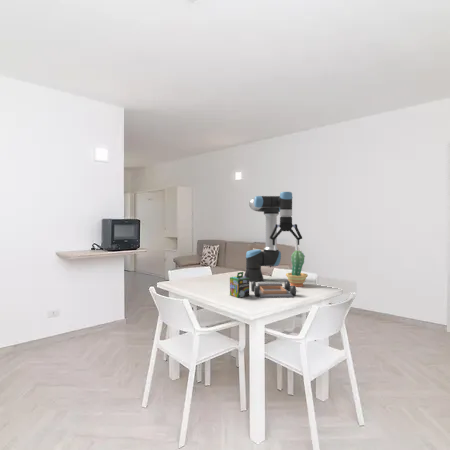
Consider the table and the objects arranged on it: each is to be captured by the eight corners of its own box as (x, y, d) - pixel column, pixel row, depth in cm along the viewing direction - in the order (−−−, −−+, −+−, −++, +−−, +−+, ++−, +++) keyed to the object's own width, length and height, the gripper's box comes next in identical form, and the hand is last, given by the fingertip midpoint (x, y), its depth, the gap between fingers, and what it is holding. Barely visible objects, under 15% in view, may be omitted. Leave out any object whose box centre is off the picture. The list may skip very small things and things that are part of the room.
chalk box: (240, 293, 205) (240, 270, 205) (250, 296, 197) (250, 272, 197) (229, 295, 199) (229, 271, 199) (238, 298, 192) (238, 273, 192)
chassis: (250, 288, 217) (250, 280, 217) (287, 288, 218) (287, 279, 218) (256, 297, 193) (256, 287, 193) (297, 297, 194) (297, 287, 194)
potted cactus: (312, 286, 224) (312, 251, 223) (292, 288, 219) (292, 252, 219) (300, 282, 239) (300, 249, 238) (281, 283, 234) (282, 249, 233)
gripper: (267, 216, 195) (267, 251, 196) (307, 216, 197) (307, 250, 197) (265, 216, 203) (265, 249, 203) (303, 216, 204) (303, 249, 205)
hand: (285, 250), depth 200 cm, fingers open, 13 cm apart
